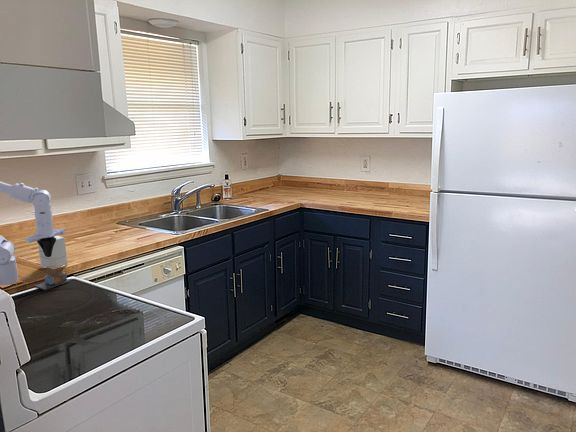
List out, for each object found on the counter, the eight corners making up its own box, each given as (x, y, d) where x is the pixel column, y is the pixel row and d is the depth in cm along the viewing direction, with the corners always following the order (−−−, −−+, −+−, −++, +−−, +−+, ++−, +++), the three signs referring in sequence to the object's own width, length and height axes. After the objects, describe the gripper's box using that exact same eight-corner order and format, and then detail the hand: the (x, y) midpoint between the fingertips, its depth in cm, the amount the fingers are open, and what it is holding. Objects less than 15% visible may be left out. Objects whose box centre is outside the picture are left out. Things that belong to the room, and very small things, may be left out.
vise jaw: (45, 282, 174) (44, 276, 173) (49, 281, 175) (48, 275, 174) (50, 284, 172) (50, 278, 171) (54, 283, 173) (53, 277, 173)
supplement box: (56, 262, 196) (53, 234, 193) (68, 265, 193) (65, 237, 190) (40, 267, 190) (36, 238, 187) (51, 271, 187) (48, 241, 184)
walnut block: (56, 279, 178) (54, 264, 177) (63, 281, 176) (61, 266, 174) (48, 281, 175) (46, 266, 174) (55, 284, 173) (53, 269, 172)
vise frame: (35, 286, 172) (34, 278, 171) (60, 277, 180) (59, 270, 180) (44, 290, 169) (43, 282, 168) (70, 281, 177) (69, 273, 177)
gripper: (31, 228, 165) (35, 263, 169) (68, 219, 177) (71, 253, 181) (20, 225, 169) (24, 260, 172) (57, 216, 181) (60, 249, 184)
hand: (48, 256), depth 177 cm, fingers closed
